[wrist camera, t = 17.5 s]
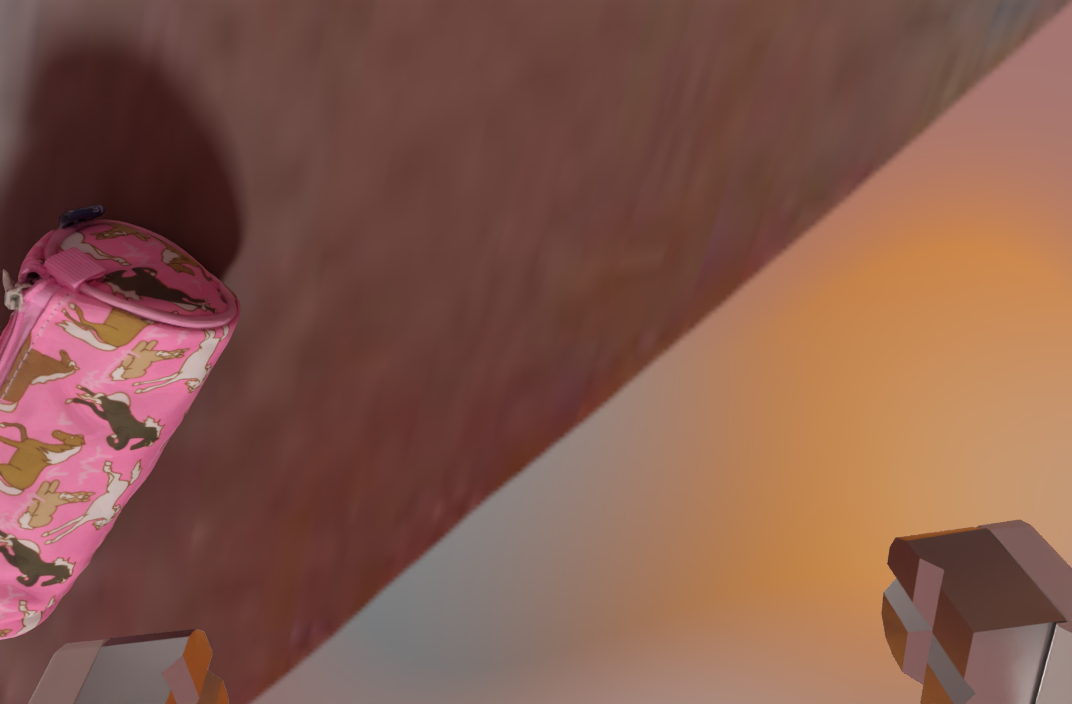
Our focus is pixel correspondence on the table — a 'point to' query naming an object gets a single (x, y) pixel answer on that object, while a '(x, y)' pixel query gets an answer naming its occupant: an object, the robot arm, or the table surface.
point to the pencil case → (92, 392)
